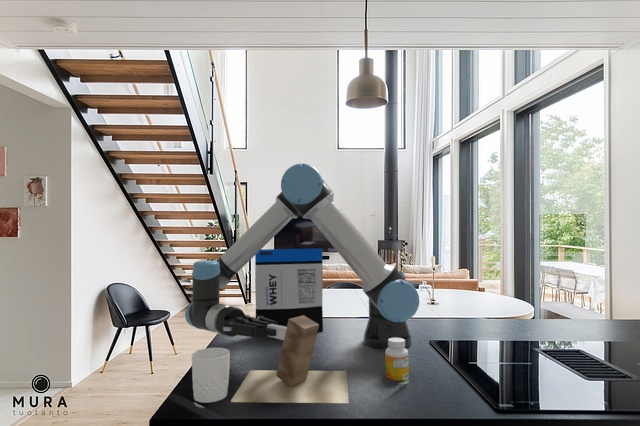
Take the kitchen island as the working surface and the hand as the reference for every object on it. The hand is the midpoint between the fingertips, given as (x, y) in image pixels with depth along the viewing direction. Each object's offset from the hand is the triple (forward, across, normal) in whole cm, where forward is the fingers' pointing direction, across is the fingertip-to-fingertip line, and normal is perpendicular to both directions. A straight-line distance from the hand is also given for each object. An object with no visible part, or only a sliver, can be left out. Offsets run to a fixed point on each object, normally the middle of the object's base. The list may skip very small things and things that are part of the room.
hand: (288, 334), depth 88 cm
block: (0, 0, -10) cm, 10 cm away
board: (+2, +1, -12) cm, 12 cm away
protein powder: (-33, -34, -12) cm, 49 cm away
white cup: (-8, +16, -12) cm, 21 cm away
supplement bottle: (+18, -19, -12) cm, 29 cm away
